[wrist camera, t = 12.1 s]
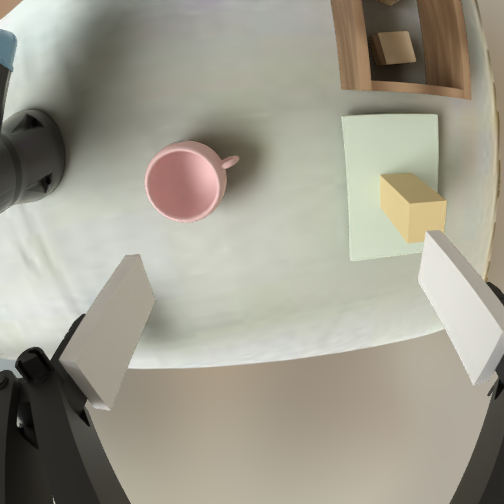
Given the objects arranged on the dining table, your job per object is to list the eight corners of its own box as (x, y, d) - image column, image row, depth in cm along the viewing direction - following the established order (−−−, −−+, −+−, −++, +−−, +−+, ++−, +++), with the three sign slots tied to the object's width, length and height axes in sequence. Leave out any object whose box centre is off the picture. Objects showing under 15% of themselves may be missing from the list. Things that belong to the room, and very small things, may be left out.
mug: (178, 217, 44) (165, 235, 39) (146, 155, 40) (128, 166, 34) (256, 186, 41) (254, 201, 36) (225, 117, 37) (218, 122, 31)
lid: (347, 252, 45) (367, 306, 34) (338, 114, 36) (366, 127, 25) (425, 243, 43) (461, 290, 33) (429, 112, 34) (480, 127, 23)
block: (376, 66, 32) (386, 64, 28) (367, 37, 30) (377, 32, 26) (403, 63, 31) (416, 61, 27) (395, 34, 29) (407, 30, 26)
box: (341, 89, 34) (362, 90, 25) (321, -48, 24) (333, -79, 16) (432, 93, 32) (471, 99, 24) (414, -37, 22) (445, -58, 14)
